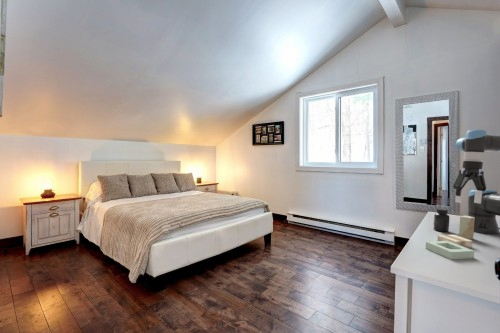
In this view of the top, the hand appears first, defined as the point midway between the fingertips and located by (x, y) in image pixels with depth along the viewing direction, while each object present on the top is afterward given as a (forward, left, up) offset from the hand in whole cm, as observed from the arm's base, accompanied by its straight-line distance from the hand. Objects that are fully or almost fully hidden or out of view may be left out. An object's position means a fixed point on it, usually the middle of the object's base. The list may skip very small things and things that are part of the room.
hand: (468, 202), depth 127 cm
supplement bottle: (+1, -13, -18) cm, 23 cm away
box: (0, 0, -18) cm, 18 cm away
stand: (+15, +7, -18) cm, 24 cm away
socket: (+28, +16, -18) cm, 37 cm away
